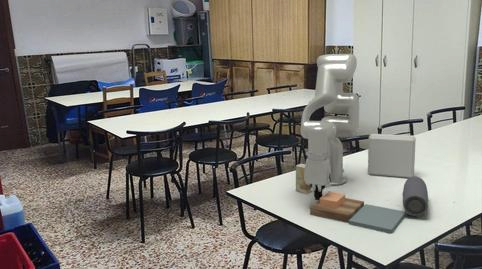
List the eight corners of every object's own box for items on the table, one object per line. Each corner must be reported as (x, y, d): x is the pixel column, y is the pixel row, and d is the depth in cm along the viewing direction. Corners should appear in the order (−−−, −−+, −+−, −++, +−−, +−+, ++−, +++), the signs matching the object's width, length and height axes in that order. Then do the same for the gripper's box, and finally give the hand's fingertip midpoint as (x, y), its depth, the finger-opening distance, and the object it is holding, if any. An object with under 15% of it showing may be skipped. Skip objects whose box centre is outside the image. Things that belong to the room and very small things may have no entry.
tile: (329, 198, 176) (329, 191, 176) (345, 201, 172) (345, 194, 172) (319, 205, 169) (319, 198, 169) (336, 209, 165) (336, 201, 165)
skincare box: (295, 191, 195) (294, 165, 192) (301, 188, 198) (300, 163, 195) (306, 194, 190) (306, 167, 188) (312, 191, 193) (312, 165, 191)
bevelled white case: (414, 174, 209) (416, 134, 205) (413, 179, 202) (415, 138, 198) (369, 170, 218) (370, 132, 214) (367, 175, 211) (368, 136, 207)
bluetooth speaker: (402, 196, 182) (403, 174, 180) (426, 198, 179) (427, 175, 177) (401, 218, 162) (402, 193, 160) (428, 220, 158) (429, 195, 156)
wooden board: (327, 201, 181) (327, 194, 181) (363, 208, 172) (364, 201, 171) (310, 214, 169) (309, 207, 168) (348, 223, 160) (348, 215, 159)
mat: (365, 207, 173) (365, 204, 172) (405, 215, 164) (405, 211, 163) (348, 224, 159) (348, 220, 158) (391, 233, 150) (391, 229, 149)
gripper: (296, 156, 172) (297, 199, 176) (331, 160, 163) (331, 205, 167) (305, 151, 177) (306, 193, 182) (339, 155, 169) (339, 199, 173)
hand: (318, 199), depth 174 cm, fingers closed
